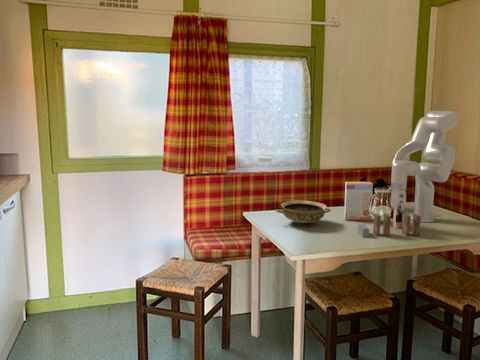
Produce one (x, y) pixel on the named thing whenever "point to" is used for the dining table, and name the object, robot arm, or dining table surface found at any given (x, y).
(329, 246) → the dining table surface
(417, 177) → the robot arm
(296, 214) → the ceramic bowl
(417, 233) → the walnut domino
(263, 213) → the dining table surface
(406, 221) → the walnut domino
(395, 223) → the terracotta domino
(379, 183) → the coal bowl
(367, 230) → the end block
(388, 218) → the walnut domino
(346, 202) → the cracker box
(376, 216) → the walnut domino
